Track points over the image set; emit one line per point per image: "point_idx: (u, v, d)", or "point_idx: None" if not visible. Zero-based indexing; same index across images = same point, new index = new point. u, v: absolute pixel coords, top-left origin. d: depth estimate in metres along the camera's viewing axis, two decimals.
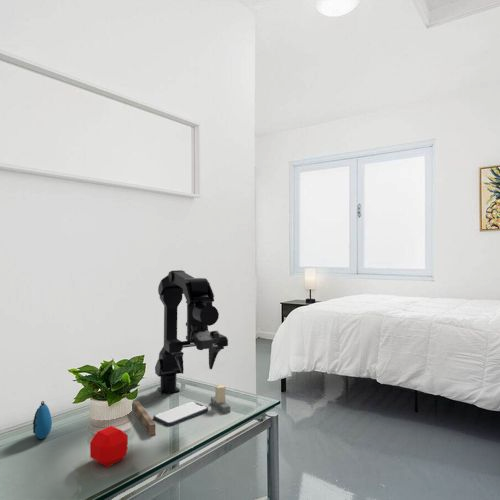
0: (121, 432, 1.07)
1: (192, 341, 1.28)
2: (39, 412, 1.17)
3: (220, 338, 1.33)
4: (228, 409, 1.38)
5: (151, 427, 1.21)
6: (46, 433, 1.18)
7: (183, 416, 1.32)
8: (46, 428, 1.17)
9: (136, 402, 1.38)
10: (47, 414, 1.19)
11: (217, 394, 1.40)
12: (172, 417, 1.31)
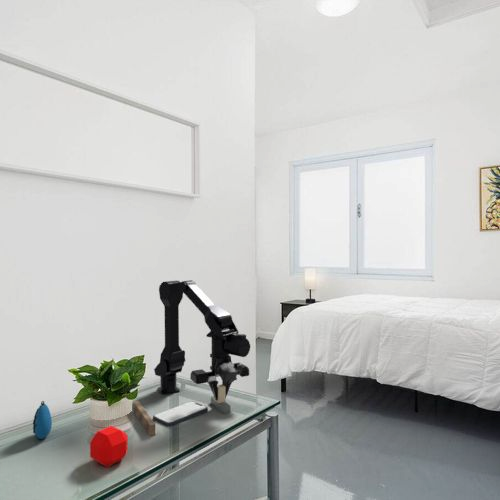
0: (121, 432, 1.07)
1: (217, 372, 1.37)
2: (39, 412, 1.17)
3: (242, 368, 1.42)
4: (228, 408, 1.38)
5: (151, 427, 1.21)
6: (46, 433, 1.18)
7: (183, 416, 1.32)
8: (46, 428, 1.17)
9: (136, 402, 1.38)
10: (47, 414, 1.19)
11: None
12: (172, 417, 1.31)
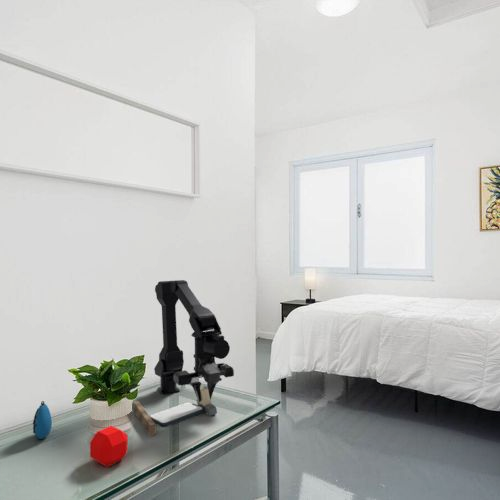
0: (121, 432, 1.07)
1: (200, 373, 1.35)
2: (39, 412, 1.17)
3: (226, 369, 1.40)
4: (214, 410, 1.35)
5: (151, 427, 1.21)
6: (46, 433, 1.18)
7: (178, 417, 1.31)
8: (46, 428, 1.17)
9: (136, 402, 1.38)
10: (47, 414, 1.19)
11: (201, 397, 1.38)
12: (167, 418, 1.31)
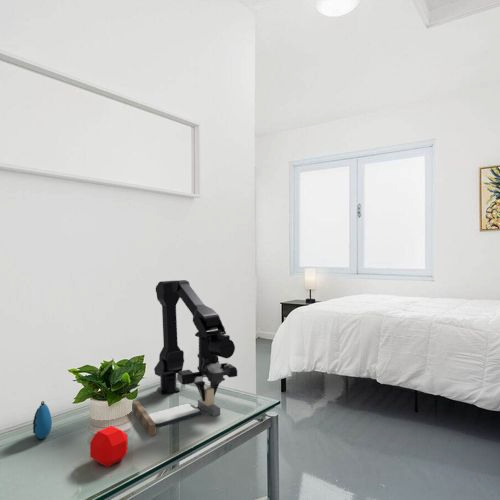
0: (121, 432, 1.07)
1: (204, 373, 1.35)
2: (39, 412, 1.17)
3: (230, 369, 1.40)
4: (218, 411, 1.35)
5: (151, 427, 1.21)
6: (46, 433, 1.18)
7: (173, 418, 1.30)
8: (46, 428, 1.17)
9: (136, 402, 1.38)
10: (47, 414, 1.19)
11: (206, 396, 1.38)
12: (162, 418, 1.30)
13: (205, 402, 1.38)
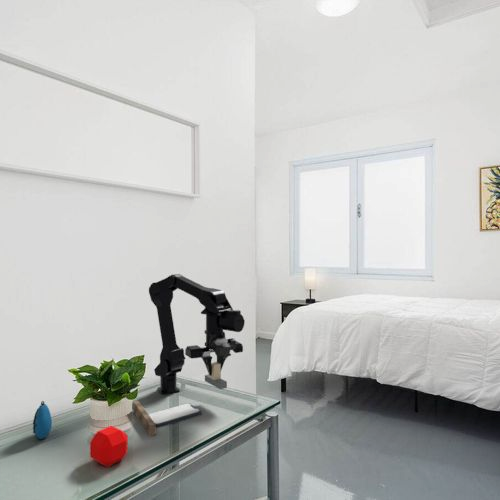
0: (121, 432, 1.07)
1: (211, 348, 1.41)
2: (39, 412, 1.17)
3: (236, 345, 1.46)
4: (225, 384, 1.41)
5: (151, 427, 1.21)
6: (46, 433, 1.18)
7: (172, 418, 1.30)
8: (46, 428, 1.17)
9: (136, 402, 1.38)
10: (47, 414, 1.19)
11: (213, 371, 1.43)
12: (162, 418, 1.30)
13: (212, 376, 1.44)
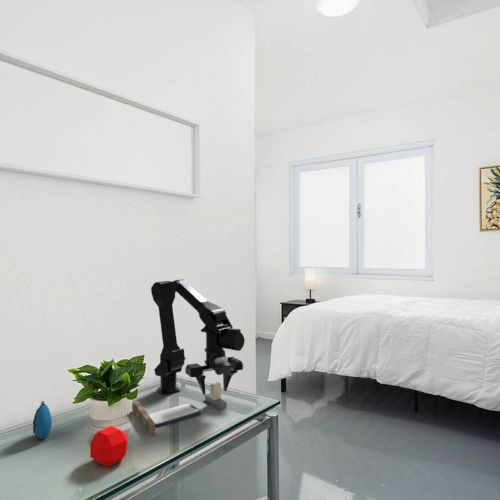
0: (121, 432, 1.07)
1: (211, 366, 1.41)
2: (39, 412, 1.17)
3: (236, 362, 1.46)
4: (224, 405, 1.41)
5: (151, 427, 1.21)
6: (46, 433, 1.18)
7: (172, 418, 1.30)
8: (46, 428, 1.17)
9: (136, 402, 1.38)
10: (47, 414, 1.19)
11: (213, 391, 1.43)
12: (161, 418, 1.30)
13: (212, 396, 1.44)
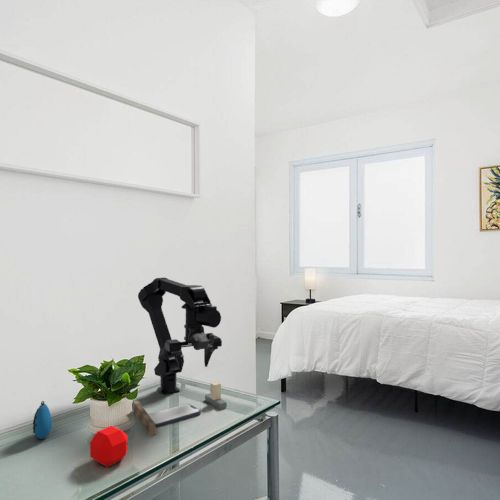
0: (121, 432, 1.07)
1: (190, 342, 1.44)
2: (39, 412, 1.17)
3: (215, 339, 1.49)
4: (224, 405, 1.41)
5: (151, 427, 1.21)
6: (46, 433, 1.18)
7: (172, 418, 1.30)
8: (46, 428, 1.17)
9: (136, 402, 1.38)
10: (47, 414, 1.19)
11: (213, 391, 1.43)
12: (161, 418, 1.30)
13: (212, 396, 1.44)
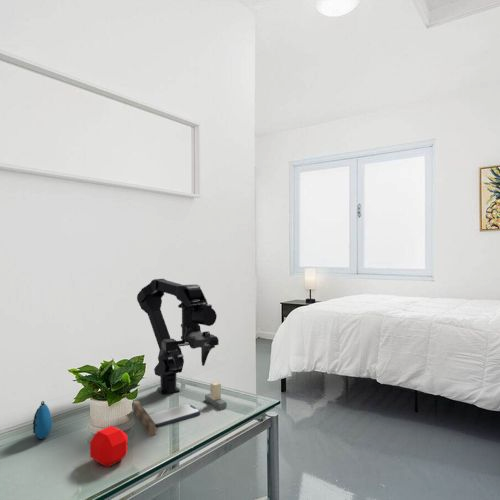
0: (121, 432, 1.07)
1: (186, 340, 1.44)
2: (39, 412, 1.17)
3: (211, 338, 1.49)
4: (224, 405, 1.41)
5: (151, 427, 1.21)
6: (46, 433, 1.18)
7: (172, 418, 1.30)
8: (46, 428, 1.17)
9: (136, 402, 1.38)
10: (47, 414, 1.19)
11: (213, 391, 1.43)
12: (161, 419, 1.30)
13: (212, 396, 1.44)
